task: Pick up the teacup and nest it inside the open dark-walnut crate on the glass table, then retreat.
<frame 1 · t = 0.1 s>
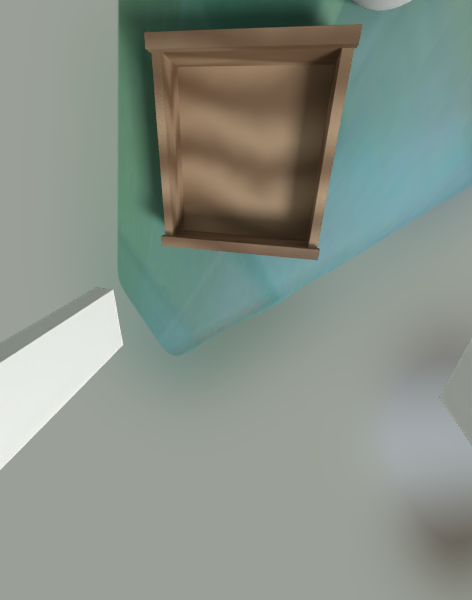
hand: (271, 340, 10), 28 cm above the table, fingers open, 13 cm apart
crate: (248, 161, 32), on the table
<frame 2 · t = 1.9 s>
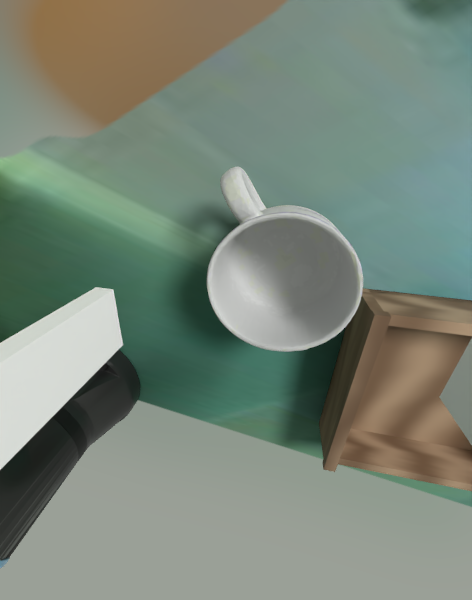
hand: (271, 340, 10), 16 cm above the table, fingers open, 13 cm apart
crate: (431, 379, 28), on the table
teacup: (278, 243, 25), on the table
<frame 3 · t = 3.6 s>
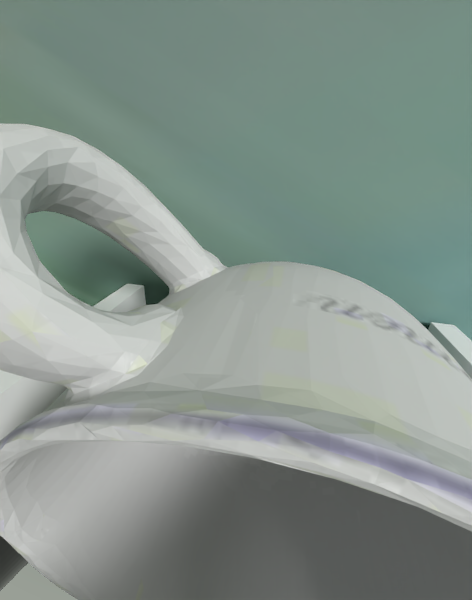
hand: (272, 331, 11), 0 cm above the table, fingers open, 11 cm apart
teacup: (263, 325, 11), on the table, touching gripper
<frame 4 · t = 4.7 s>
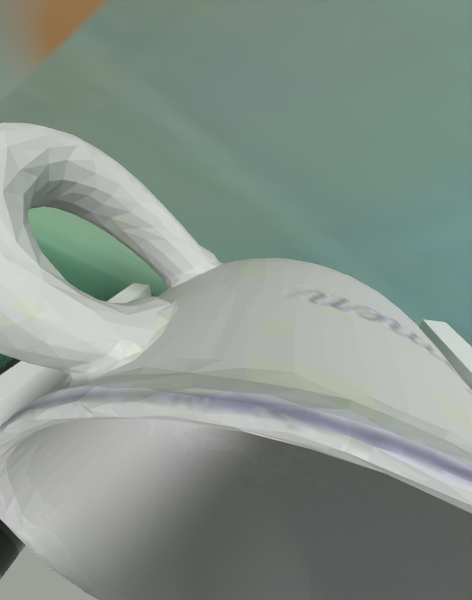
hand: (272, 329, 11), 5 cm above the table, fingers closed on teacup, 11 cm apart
teacup: (259, 321, 11), point 5 cm above the table, touching gripper
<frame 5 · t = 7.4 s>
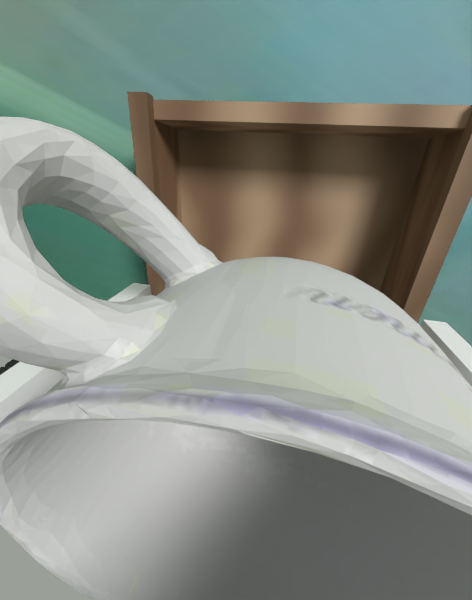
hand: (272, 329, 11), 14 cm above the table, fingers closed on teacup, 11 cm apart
crate: (280, 245, 23), on the table
teacup: (259, 321, 11), point 14 cm above the table, touching gripper
when the fingers open (2 cm above the table, at t = 10.0 s): teacup drops 1 cm, resting on crate.
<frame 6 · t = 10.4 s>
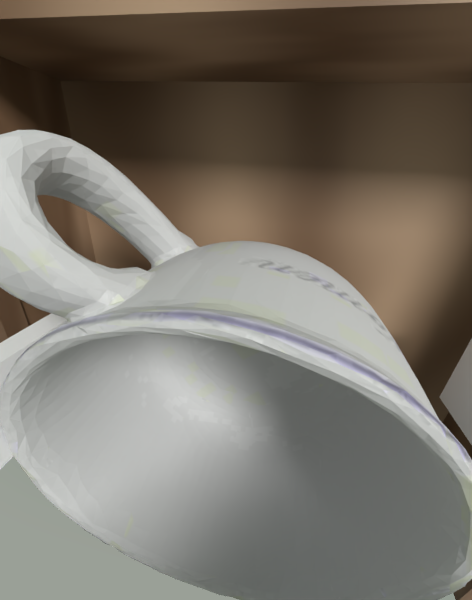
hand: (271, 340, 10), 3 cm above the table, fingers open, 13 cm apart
crate: (276, 304, 13), on the table
teacup: (240, 304, 12), point 1 cm above the table, touching crate, gripper
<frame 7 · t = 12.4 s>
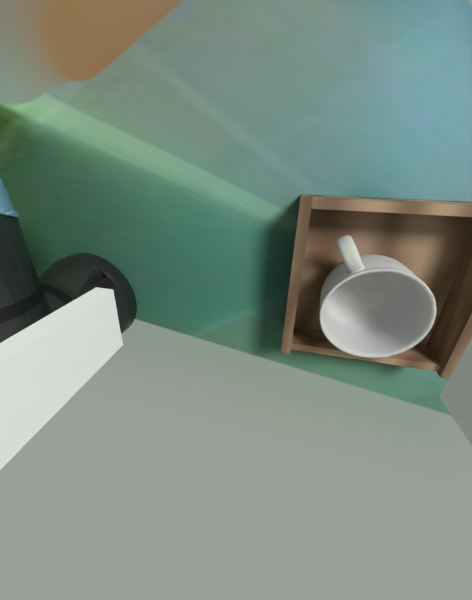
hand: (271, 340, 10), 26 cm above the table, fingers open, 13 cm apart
crate: (369, 277, 33), on the table
teacup: (357, 276, 33), point 1 cm above the table, touching crate
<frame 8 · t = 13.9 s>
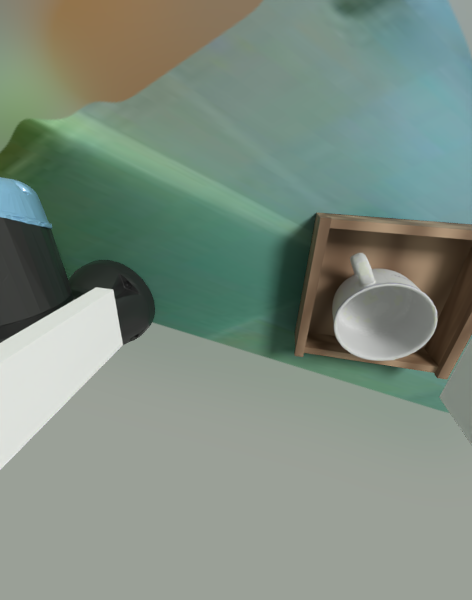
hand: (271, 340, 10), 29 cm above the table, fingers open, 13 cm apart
crate: (375, 287, 37), on the table
teacup: (364, 287, 37), point 1 cm above the table, touching crate
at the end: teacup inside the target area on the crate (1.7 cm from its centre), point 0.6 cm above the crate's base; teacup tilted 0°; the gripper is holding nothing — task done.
